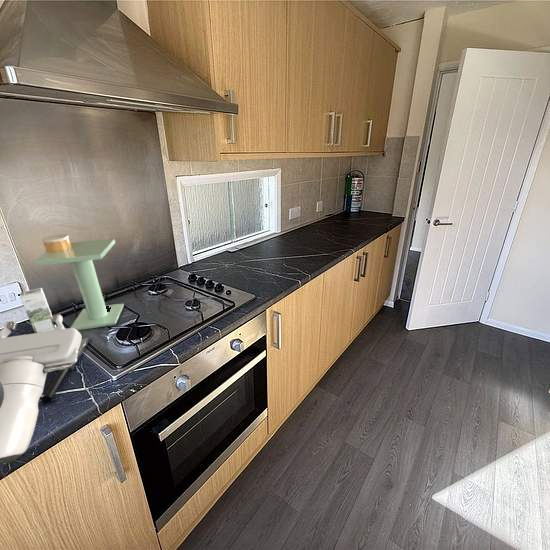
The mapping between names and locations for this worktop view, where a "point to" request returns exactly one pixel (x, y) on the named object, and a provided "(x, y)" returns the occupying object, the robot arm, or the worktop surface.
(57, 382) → the cake knife
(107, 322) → the cake stand
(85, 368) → the worktop surface
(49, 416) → the worktop surface
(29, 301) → the syrup box
